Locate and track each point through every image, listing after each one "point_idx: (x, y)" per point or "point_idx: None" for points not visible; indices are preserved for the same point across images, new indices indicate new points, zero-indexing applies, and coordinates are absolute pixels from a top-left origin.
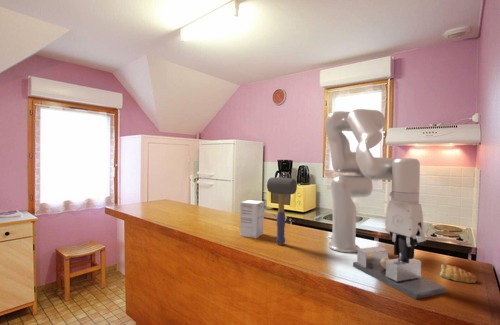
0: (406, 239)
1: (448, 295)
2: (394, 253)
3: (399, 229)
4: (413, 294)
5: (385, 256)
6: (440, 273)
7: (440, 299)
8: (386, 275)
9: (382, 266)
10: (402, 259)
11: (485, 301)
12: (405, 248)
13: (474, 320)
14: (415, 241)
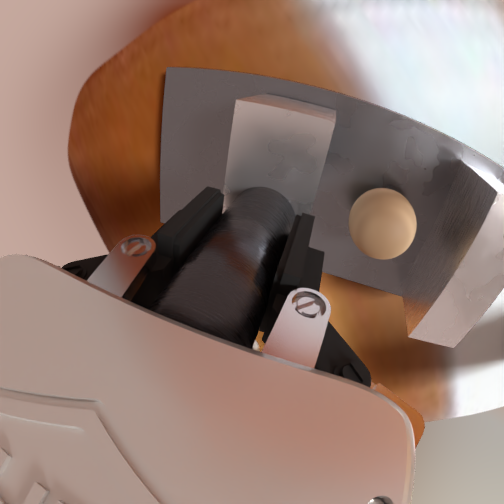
0: (125, 283)
1: (156, 200)
2: (309, 217)
3: (79, 359)
4: (180, 67)
5: (413, 299)
6: (255, 341)
7: (148, 148)
8: (332, 110)
9: (392, 190)
10: (248, 194)
11: (115, 243)
12: (177, 223)
13: (72, 115)
14: (64, 267)
